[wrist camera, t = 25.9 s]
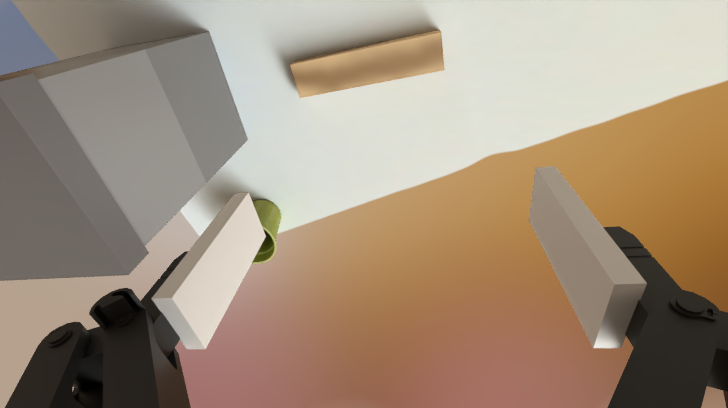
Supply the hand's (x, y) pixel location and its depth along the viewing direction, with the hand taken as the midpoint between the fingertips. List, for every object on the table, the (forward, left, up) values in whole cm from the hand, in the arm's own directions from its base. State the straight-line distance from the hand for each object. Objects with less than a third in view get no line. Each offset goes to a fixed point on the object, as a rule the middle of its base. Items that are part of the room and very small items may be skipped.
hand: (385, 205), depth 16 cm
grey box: (+10, -32, -37) cm, 50 cm away
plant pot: (+30, -20, -37) cm, 52 cm away
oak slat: (+2, -4, -37) cm, 37 cm away
